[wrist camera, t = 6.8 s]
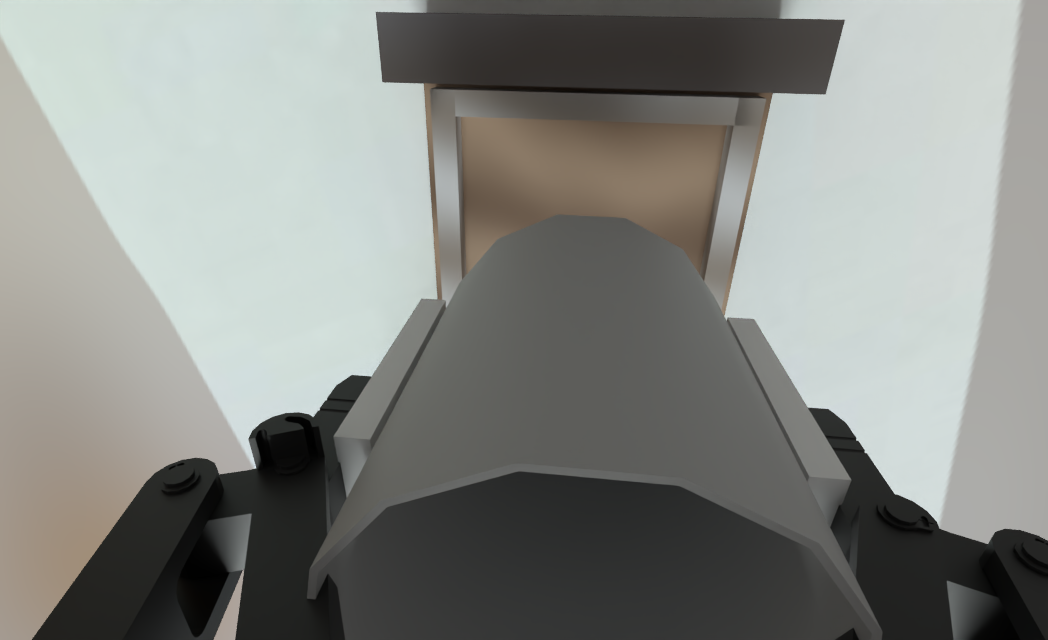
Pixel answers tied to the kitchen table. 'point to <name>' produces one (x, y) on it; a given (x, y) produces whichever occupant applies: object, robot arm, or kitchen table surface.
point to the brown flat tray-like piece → (598, 122)
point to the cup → (585, 467)
